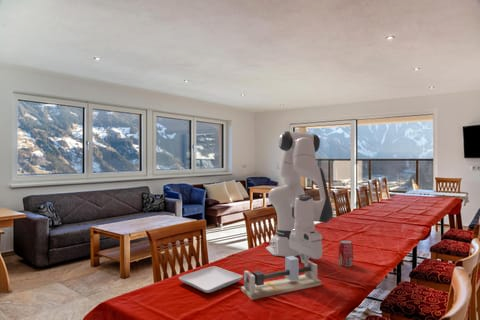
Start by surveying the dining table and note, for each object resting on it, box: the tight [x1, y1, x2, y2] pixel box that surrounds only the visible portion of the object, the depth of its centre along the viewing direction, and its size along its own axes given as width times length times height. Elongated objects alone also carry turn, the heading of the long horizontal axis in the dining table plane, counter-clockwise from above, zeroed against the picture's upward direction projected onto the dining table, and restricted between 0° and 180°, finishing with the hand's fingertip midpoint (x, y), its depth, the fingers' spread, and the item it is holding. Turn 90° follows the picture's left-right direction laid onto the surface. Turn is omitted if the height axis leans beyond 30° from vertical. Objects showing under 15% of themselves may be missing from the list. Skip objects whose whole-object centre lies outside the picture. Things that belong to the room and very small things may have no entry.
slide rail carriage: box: [284, 256, 300, 281], centre depth 141 cm, size 4×4×9 cm
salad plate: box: [178, 265, 244, 294], centre depth 145 cm, size 21×21×3 cm
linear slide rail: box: [240, 259, 323, 301], centre depth 139 cm, size 10×34×8 cm, turn 114°
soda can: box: [338, 239, 354, 268], centre depth 166 cm, size 7×7×12 cm
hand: (304, 263), depth 143 cm, fingers closed
